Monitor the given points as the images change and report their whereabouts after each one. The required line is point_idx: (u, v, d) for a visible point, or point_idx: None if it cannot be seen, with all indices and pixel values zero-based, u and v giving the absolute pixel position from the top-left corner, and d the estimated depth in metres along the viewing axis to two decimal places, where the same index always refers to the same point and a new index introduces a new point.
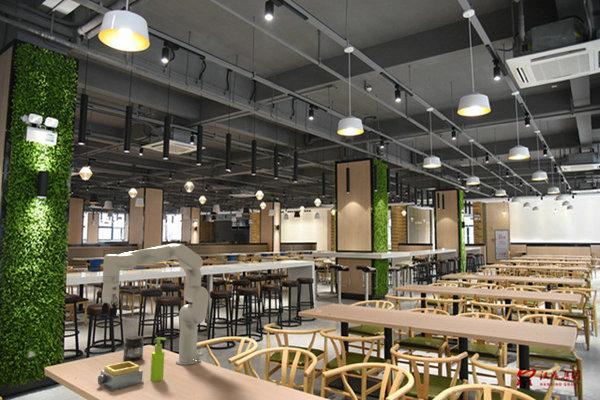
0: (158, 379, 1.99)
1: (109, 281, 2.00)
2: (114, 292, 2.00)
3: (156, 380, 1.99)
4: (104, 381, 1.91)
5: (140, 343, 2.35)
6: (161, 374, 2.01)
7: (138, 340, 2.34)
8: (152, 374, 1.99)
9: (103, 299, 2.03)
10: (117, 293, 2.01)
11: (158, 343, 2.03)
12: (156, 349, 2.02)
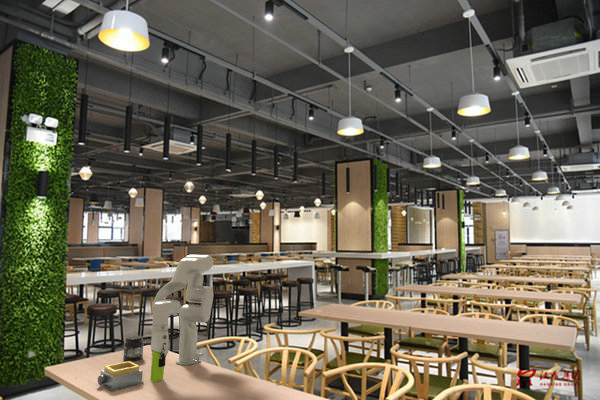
0: (158, 379, 1.99)
1: (159, 330, 2.00)
2: (164, 341, 2.00)
3: (156, 380, 1.99)
4: (104, 381, 1.91)
5: (140, 343, 2.35)
6: (161, 374, 2.01)
7: (138, 340, 2.34)
8: (152, 374, 1.99)
9: (153, 347, 2.03)
10: (167, 342, 2.01)
11: None
12: None
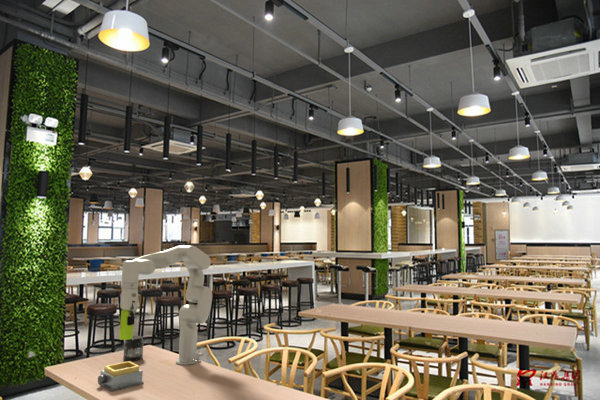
0: (127, 337, 1.96)
1: (128, 287, 1.97)
2: (133, 299, 1.97)
3: (125, 338, 1.95)
4: (104, 381, 1.91)
5: (140, 343, 2.35)
6: (130, 333, 1.97)
7: (138, 340, 2.34)
8: (121, 332, 1.96)
9: (122, 306, 2.00)
10: (136, 300, 1.98)
11: None
12: None
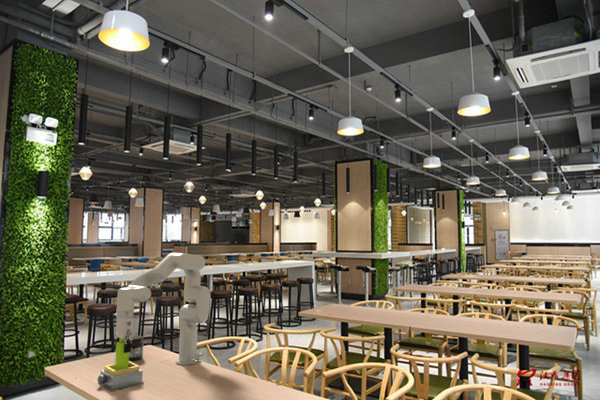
0: None
1: (123, 316, 1.95)
2: (128, 327, 1.95)
3: None
4: (104, 381, 1.91)
5: (140, 343, 2.35)
6: (126, 365, 1.95)
7: (138, 340, 2.34)
8: (116, 365, 1.94)
9: (117, 334, 1.98)
10: (131, 328, 1.96)
11: None
12: (121, 339, 1.96)
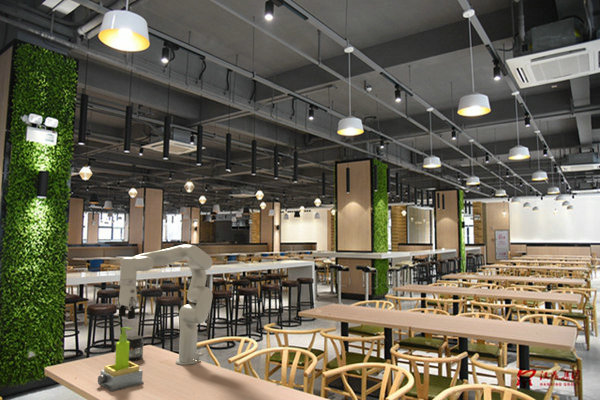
0: None
1: (127, 284, 2.01)
2: (132, 295, 2.01)
3: None
4: (104, 381, 1.91)
5: (140, 343, 2.35)
6: (126, 365, 1.95)
7: (138, 340, 2.34)
8: (116, 365, 1.94)
9: (121, 302, 2.04)
10: (135, 296, 2.02)
11: (123, 333, 1.97)
12: (121, 339, 1.96)
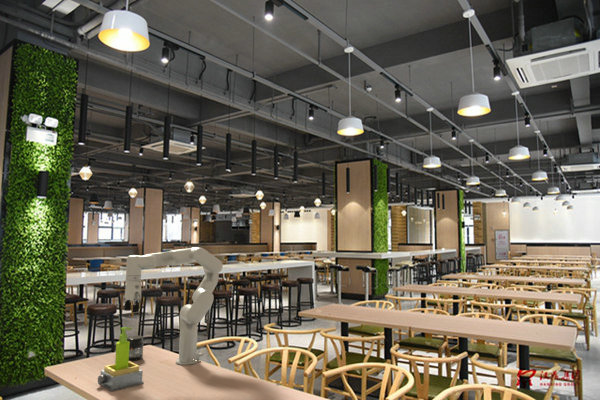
0: None
1: (132, 280, 2.16)
2: (137, 290, 2.16)
3: None
4: (104, 381, 1.91)
5: (140, 343, 2.35)
6: (126, 365, 1.95)
7: (138, 340, 2.34)
8: (116, 365, 1.94)
9: (126, 297, 2.19)
10: (139, 291, 2.17)
11: (123, 333, 1.97)
12: (121, 339, 1.96)
